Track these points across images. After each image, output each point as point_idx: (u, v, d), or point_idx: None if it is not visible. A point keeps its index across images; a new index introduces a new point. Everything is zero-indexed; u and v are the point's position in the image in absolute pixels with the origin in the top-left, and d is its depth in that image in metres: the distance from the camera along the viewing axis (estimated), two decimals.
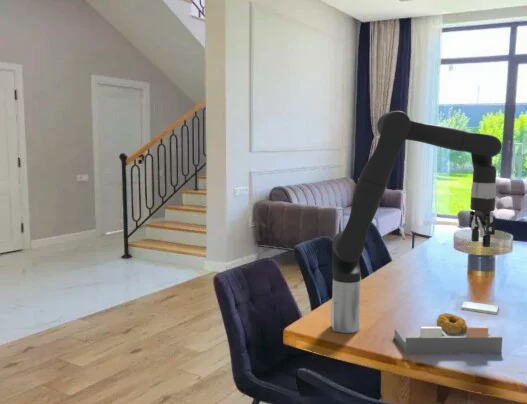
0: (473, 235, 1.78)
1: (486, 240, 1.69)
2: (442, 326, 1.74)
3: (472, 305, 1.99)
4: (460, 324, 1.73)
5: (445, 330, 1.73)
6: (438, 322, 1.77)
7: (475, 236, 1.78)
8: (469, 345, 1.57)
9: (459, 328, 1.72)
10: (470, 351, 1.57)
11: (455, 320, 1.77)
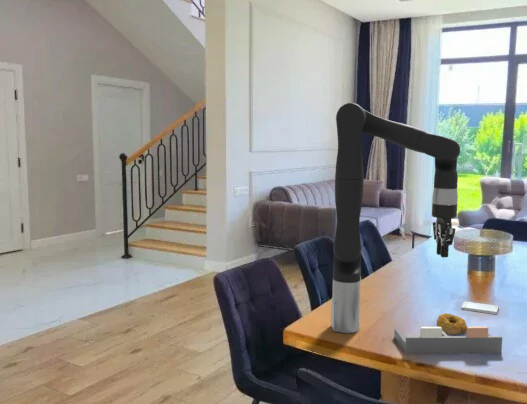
0: (438, 248, 1.68)
1: (444, 250, 1.64)
2: (442, 326, 1.74)
3: (472, 305, 1.99)
4: (460, 324, 1.72)
5: (445, 330, 1.73)
6: (438, 322, 1.76)
7: (440, 249, 1.68)
8: (469, 345, 1.57)
9: (459, 328, 1.71)
10: (470, 351, 1.57)
11: (455, 320, 1.77)
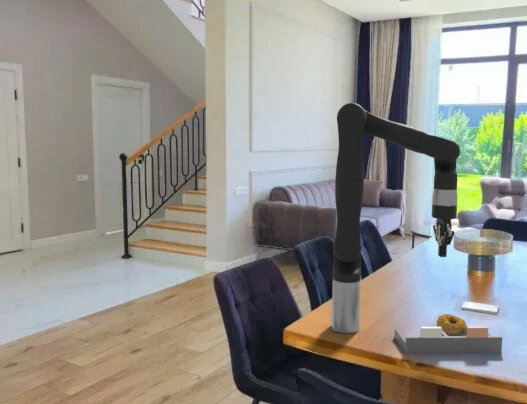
0: None
1: (442, 250, 1.66)
2: (442, 326, 1.74)
3: (472, 305, 1.99)
4: (460, 325, 1.72)
5: (445, 331, 1.72)
6: (438, 323, 1.76)
7: None
8: (469, 345, 1.57)
9: (459, 329, 1.71)
10: (470, 351, 1.57)
11: (455, 321, 1.76)
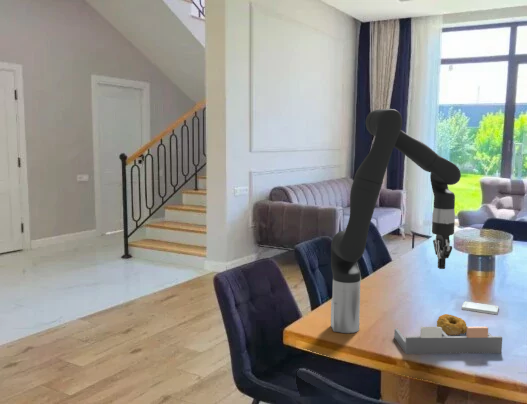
0: None
1: (441, 263, 1.85)
2: (442, 327, 1.73)
3: (473, 305, 1.99)
4: (460, 325, 1.72)
5: (445, 331, 1.72)
6: (438, 323, 1.76)
7: None
8: (469, 345, 1.57)
9: (459, 329, 1.71)
10: (470, 351, 1.57)
11: (455, 321, 1.76)
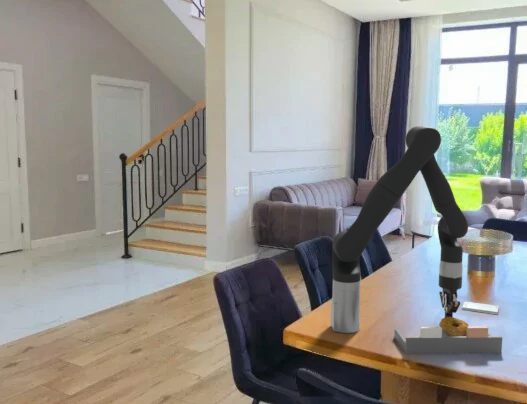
0: None
1: None
2: (445, 330, 1.71)
3: (473, 305, 1.99)
4: (463, 328, 1.69)
5: (448, 334, 1.69)
6: (441, 326, 1.73)
7: None
8: (469, 345, 1.57)
9: (462, 332, 1.68)
10: (470, 351, 1.57)
11: (458, 324, 1.73)
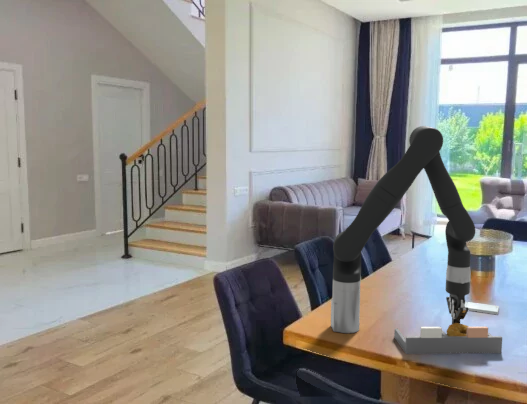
0: (453, 322, 1.74)
1: None
2: None
3: (473, 305, 1.99)
4: None
5: None
6: (448, 333, 1.67)
7: None
8: (469, 345, 1.57)
9: None
10: (470, 351, 1.57)
11: (466, 331, 1.67)
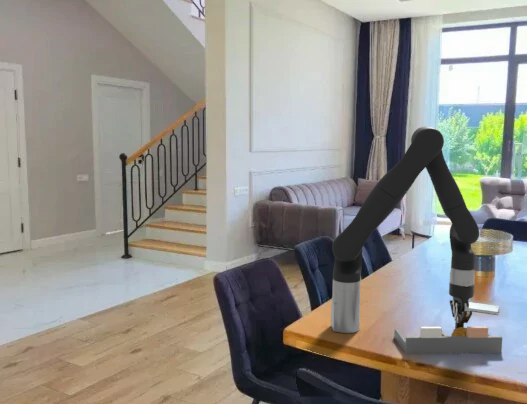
0: None
1: None
2: None
3: (473, 305, 1.99)
4: None
5: None
6: None
7: None
8: (469, 345, 1.57)
9: None
10: (470, 351, 1.57)
11: None
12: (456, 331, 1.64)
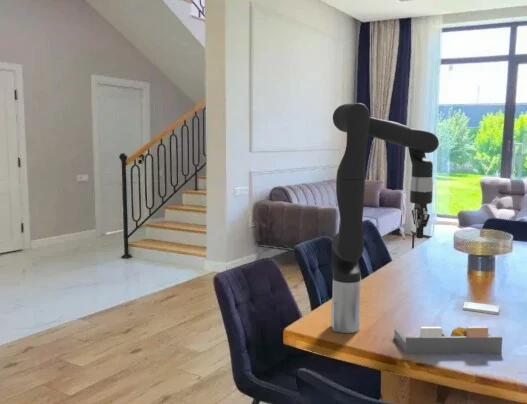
0: None
1: (419, 232, 1.85)
2: None
3: (473, 305, 1.99)
4: None
5: None
6: None
7: None
8: (469, 345, 1.57)
9: None
10: (470, 351, 1.57)
11: None
12: (455, 331, 1.64)
